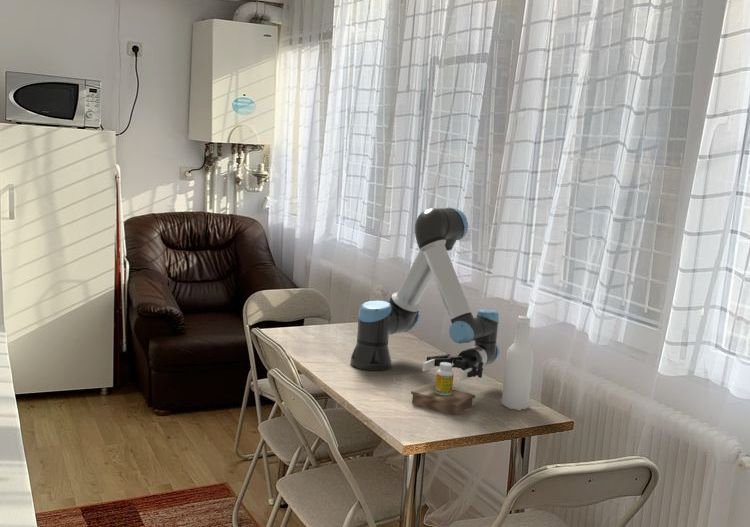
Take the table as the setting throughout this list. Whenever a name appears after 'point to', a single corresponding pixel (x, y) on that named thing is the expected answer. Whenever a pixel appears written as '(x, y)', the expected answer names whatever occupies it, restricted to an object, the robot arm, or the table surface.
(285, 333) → the table surface
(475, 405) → the table surface
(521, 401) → the alcohol
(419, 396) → the stand
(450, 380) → the supplement bottle
